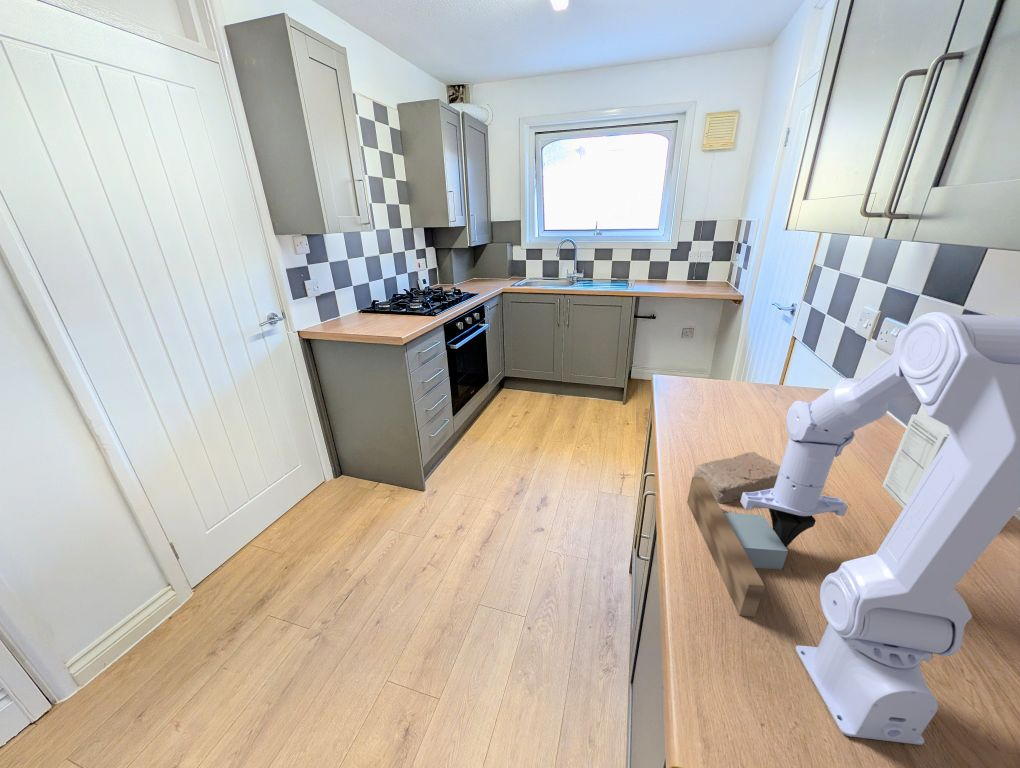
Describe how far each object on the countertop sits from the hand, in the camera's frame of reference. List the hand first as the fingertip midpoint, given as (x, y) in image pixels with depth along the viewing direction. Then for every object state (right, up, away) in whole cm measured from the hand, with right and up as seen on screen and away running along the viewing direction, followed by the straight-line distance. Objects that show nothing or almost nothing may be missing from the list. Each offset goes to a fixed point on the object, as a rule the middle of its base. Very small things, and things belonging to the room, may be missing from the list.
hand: (779, 543), depth 65 cm
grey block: (-5, -1, +1) cm, 6 cm away
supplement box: (+35, +3, +11) cm, 37 cm away
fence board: (-10, -1, +1) cm, 10 cm away
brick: (+3, +5, +17) cm, 18 cm away
